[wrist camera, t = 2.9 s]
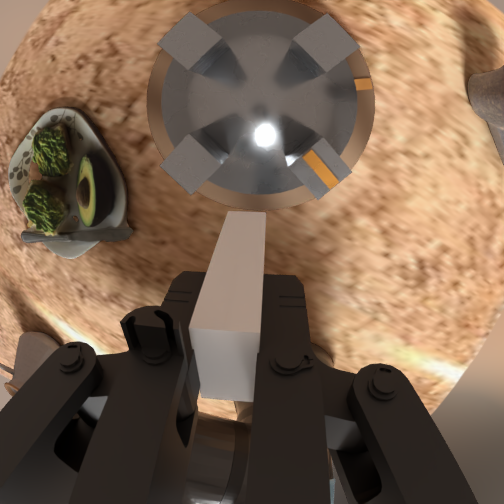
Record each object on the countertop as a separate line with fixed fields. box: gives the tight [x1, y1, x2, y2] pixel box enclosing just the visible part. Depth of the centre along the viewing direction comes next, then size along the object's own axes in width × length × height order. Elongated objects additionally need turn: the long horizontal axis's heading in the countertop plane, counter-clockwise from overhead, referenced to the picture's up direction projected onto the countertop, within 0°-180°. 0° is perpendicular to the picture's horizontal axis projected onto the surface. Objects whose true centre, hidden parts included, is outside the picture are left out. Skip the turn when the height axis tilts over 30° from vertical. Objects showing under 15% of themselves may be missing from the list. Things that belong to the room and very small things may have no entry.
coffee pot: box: [0, 331, 60, 397], centre depth 36 cm, size 21×12×15 cm, turn 28°
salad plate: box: [8, 107, 133, 259], centre depth 28 cm, size 19×18×5 cm
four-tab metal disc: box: [157, 11, 360, 200], centre depth 19 cm, size 15×15×7 cm
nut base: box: [147, 0, 375, 211], centre depth 23 cm, size 20×20×2 cm
